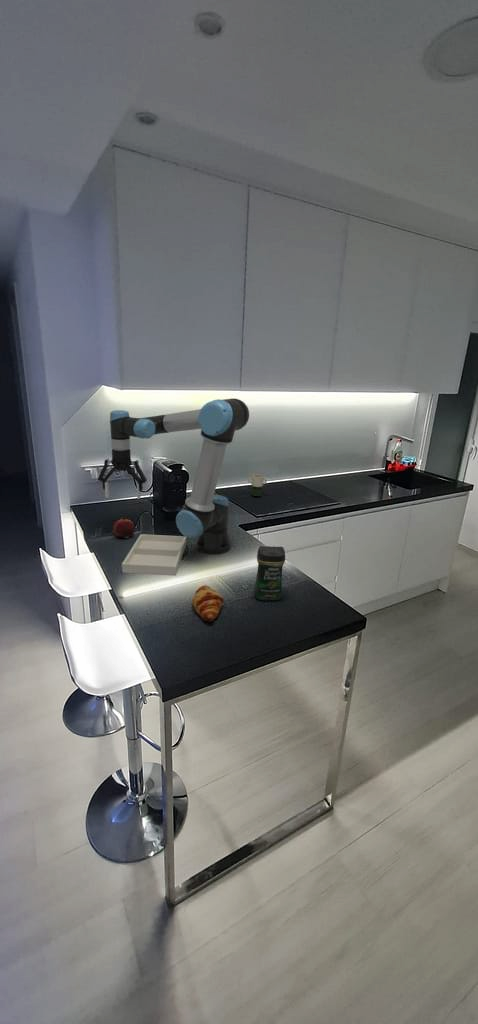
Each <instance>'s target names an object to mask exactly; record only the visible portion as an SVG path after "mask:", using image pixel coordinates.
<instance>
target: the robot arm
mask: <svg viewBox="0 0 478 1024" xmlns="http://www.w3.org/2000/svg"><path fill="white" fill-rule="evenodd" d="M129 413H130V411H128V410H112V411H110V413H109V425H110V443H111V459H109V458H105V460H104V462H103V463H104V465H103V467H102V469H101V472H100V473H99V475H98V478H97V480H98V481H100V482H102V489H103V490H104V492H105V498H108V497H110V484H109V480H108V479H109V478H110V477H111V476H112V475H113V474H114V473H115V471H117V472H120V471H121V472H126V471H127V473H129V475H131V477H133V479H134V480H135V481H136V482H137V483H136V495H137V496H136V499H137V500H139V499H140V498H141V492H142V491H143V487H144V486H143V484H146V482H147V481H148V480H147V477H146V476H145V474H144V472H143V471H142V468H141V466H140V462H139V460H138V459H136V460H132V459H131V454H132V453H131V437H134V438H138V439H147V440H148V439H151V438H152V437H153V436H154V435H155V436H156V435H161V434H162V435H163V434H169V433H176V432H184V431H193V430H200V435H201V437H202V438H203V441H202V443H201V444H202V445H201V450H200V454H199V457H198V462H197V467H196V471H195V477H194V480H193V484H192V489H191V493H190V496H189V497H187V498H185V500H184V501H185V502H184V506H183V509H182V510H180V511H179V512H178V513H177V514H176V517H175V523H176V527H177V529H178V530H179V532H180V533H181V534H182V535H183V536H184V537H186V538H190V539H195V538H197V539H196V542H195V548H196V549H197V550H198V551H199V552H200V553H204V554H209V555H215V554H217V555H218V554H219V555H220V554H224V553H227V552H228V551H230V550H231V549H232V548H231V547H232V540H231V538H230V535H229V531H228V526H229V508H230V507H229V506H230V505H229V499H228V498H227V496H224V495H221V494H215V492H216V488H217V485H218V481H219V477H220V474H221V473H220V472H221V470H222V469H221V468H222V465H223V461H224V457H225V454H226V449H227V446H228V445H229V444H231V443H232V442H233V439H234V435H235V432H236V431H240V430H241V429H243V428H244V427H245V426H246V425H247V424H248V422H249V419H250V411H249V407H248V405H247V404H246V403H245V401H243V400H241V399H240V398H226V399H222V398H221V399H214V400H211V401H208V402H206V403H205V404H204V405H203V406H202V407H201V408H199V409H193V410H186V411H180V412H173V413H167V414H160V415H153V416H144V417H131V416H130V414H129ZM110 465H112V468H111V469H110V471H108V473H107V474H106V472H107V470H108V467H109V466H110ZM132 466H133V467H135V470H136V472H137V473H138V474H137V473H136V472H135V470H134V469H133V468H132ZM105 474H106V475H105ZM104 475H105V476H104Z"/></svg>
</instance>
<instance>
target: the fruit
mask: <svg viewBox="0 0 478 1024" xmlns="http://www.w3.org/2000/svg"><path fill="white" fill-rule="evenodd" d="M112 531H113V534H114V535H115V536H117V537H119V538H120V537H121V538H124V539H125V538H126V539H129V538H130V537H132V536H133V535H134V534H135V524H134V523H133V521H132V520H130V519H127V518H126V517H125V514H123V515H122V516H120V519H119V520H116V521H115V522H114V524H113V527H112Z"/></svg>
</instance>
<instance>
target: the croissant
mask: <svg viewBox="0 0 478 1024" xmlns="http://www.w3.org/2000/svg"><path fill="white" fill-rule="evenodd" d="M224 601H225V599H224V596H222V595H221V593H218V592H217V591H216V590H215V589H213V588H211V587H210V586H209V585H207V584H204V585H202V586H199V587H198V588H197V589H196V590H195V593H194V596H193V597H192V599H191V604H192V606H193V608H194V610H195V612H196V613H197V614H198V615H199V616H200V617H201V618H202V620H204V621H206V622H212V621H214V620H215V619H216V618H217V617H218V615H219V613H220V612H221V609H222V604H223V603H224Z"/></svg>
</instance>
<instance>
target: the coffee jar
mask: <svg viewBox="0 0 478 1024" xmlns="http://www.w3.org/2000/svg"><path fill="white" fill-rule="evenodd" d="M256 561H257V563H258V564H257V573H256V577H255V582H254V583H255V584H254V590H253V594H254V597H255V598H256V599H257V600H259V601H270V602H271V600H272V601H273V602H274V600H275V601H279V600H280V599H281V598H282V596H283V566H284V564H286V552H285V548H284V546H266V545H265V546H264V545H260V546H259V547H258V549H257V554H256Z"/></svg>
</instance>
